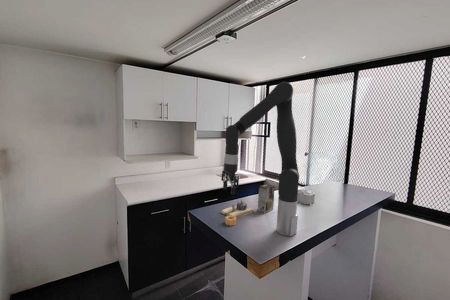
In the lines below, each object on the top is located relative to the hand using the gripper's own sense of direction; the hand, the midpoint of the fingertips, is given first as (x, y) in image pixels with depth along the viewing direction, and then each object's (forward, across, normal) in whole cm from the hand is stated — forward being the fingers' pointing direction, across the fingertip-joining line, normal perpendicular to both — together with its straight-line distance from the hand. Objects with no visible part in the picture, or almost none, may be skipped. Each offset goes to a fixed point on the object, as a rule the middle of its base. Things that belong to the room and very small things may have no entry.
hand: (228, 191), depth 116 cm
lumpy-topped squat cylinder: (+16, +6, -70) cm, 72 cm away
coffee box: (+17, +5, -32) cm, 37 cm away
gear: (+18, -2, -2) cm, 18 cm away
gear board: (+18, +10, -13) cm, 24 cm away
